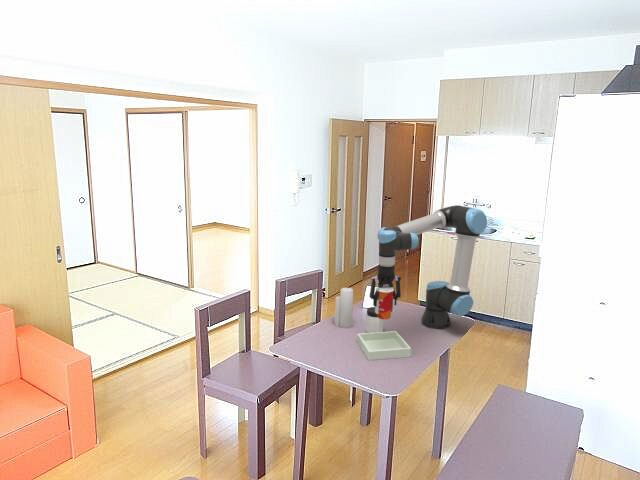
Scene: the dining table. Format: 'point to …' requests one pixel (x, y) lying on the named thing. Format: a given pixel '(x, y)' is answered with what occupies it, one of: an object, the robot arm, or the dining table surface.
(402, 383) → the dining table surface
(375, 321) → the jar
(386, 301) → the coffee cup
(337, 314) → the candle
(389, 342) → the bin
